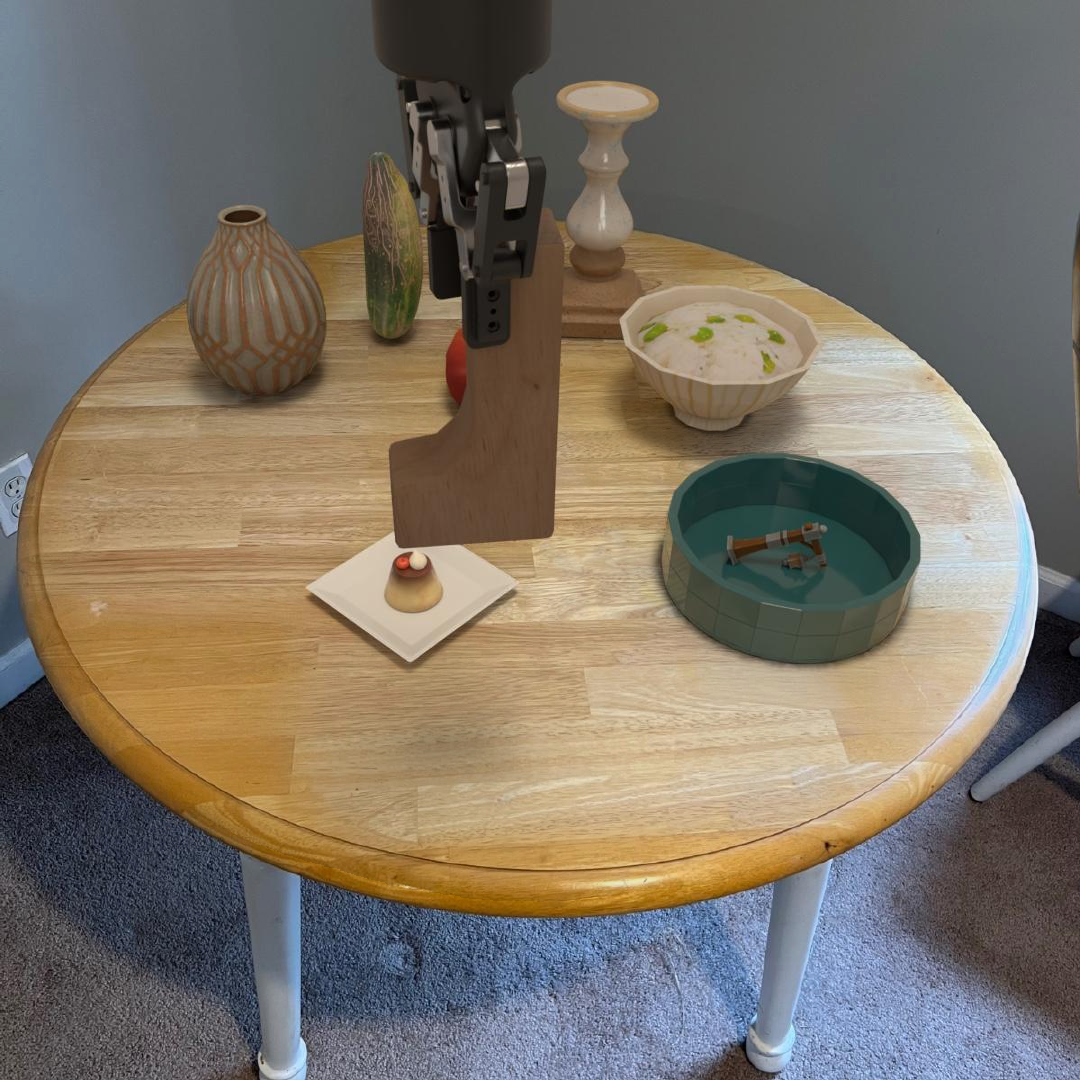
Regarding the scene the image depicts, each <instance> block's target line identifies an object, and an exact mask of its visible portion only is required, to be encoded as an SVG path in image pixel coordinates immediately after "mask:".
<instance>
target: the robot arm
mask: <svg viewBox="0 0 1080 1080" xmlns="http://www.w3.org/2000/svg"><path fill="white" fill-rule="evenodd" d="M370 7H371V9H370V10H371V21H372V36H373V48H374V53H375V56H376V58H377V59H378V62H380V63H381V64H382V66H384V68H386V69H387V70H389V71H391V72H393V73H394V74H396V79H395V88H396V90H397V96H398V105H399V113H400V121H401V129H402V136H403V145H404V153H405V162H406V170H407V179H408V181H407V183H408V189H409V192H410V193H411V196H412V198H413V200H419V201H420V202H419V209H418V214H419V215H418V216H419V218H420V220H421V222H422V224H423V226H425V227H426V241H427V263H428V264H427V265H428V283H429V284H428V285H429V290H430V292H431V293H432V294H433V296H434V297H435V298H436V299H437V300H439V301H444V300H449V299H455V298H460V299H461V328H462V336H463V339H464V340H465V342H466V343H467V345H468V346H469V347H470V348H471V349H481V348H486V347H492V346H497V345H502V344H504V343H506V342H507V341H508V339H509V338H510V279H515V278H527V277H531V276H532V274H533V267H534V260H535V253H536V246H537V239H538V232H539V225H540V218H541V211H542V207H543V204H544V203H543V202H544V196H545V189H546V184H547V183H546V182H547V168H546V164H545V161H544V159H543V157H541V155H537V156H528V157H522V155H521V154H520V152H521V150H522V148H523V139H522V137H523V136H522V129H521V128H522V127H521V119H520V116H519V114H518V112H517V111H516V107H515V106H516V105H515V98H514V94H513V91H514V88H515V86H516V85H517V83H519V81H520V80H522V78H524V77H525V76H528V75H532V74H533V73H536V72H537V71H539V70H540V69H541V68H542V67H544V66H545V64H546V63H547V61H548V60H549V58H550V55H551V53H552V51H551V50H552V27H553V26H552V25H553V24H552V21H553V18H552V17H553V0H370ZM476 197H477V205H475V204H476ZM475 227H476V228H475ZM474 229H475V240H474ZM497 244H499V248H495V246H496V245H497ZM494 248H495V249H494ZM1072 252H1073V253H1072V274H1071V275H1072V276H1071V281H1072V282H1071V324H1070V325H1071V329H1070V330H1071V335H1072V364H1073V387H1074V409H1075V410H1074V411H1075V429H1076V430H1075V431H1076V452H1077V453H1076V455H1077V478H1078V496H1079V498H1080V212H1079V213H1078V218H1077V222H1076V227H1075V235H1074V245H1073V251H1072Z"/></svg>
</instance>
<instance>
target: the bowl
mask: <svg viewBox="0 0 1080 1080" xmlns="http://www.w3.org/2000/svg"><path fill="white" fill-rule="evenodd" d="M619 320H620V324H621V329H622V333H623V338H624V339H623V341H624V347H625V348H626V350H627V353H628V355H629V357H630V360H631V361H632V363H633V365H634V367H635V370H636V372H637V374H639V375H640V376H641V378H642V379H643V380H644V381H645V382H646V383H647V384H648V385H649V386H650V387H651V388H652V389H653V390H654V392H656V394H658V396H660V397H661V398H662V399H664V400H665V401H666V402H667V403H668V404H670V405H671V406H672V407H673V411H674V415H675V417H676V418H677V419H678V420H680V421H681V422H683V423H684V424H685V425H687V426H688V427H691V428H696V429H699V430H703V431H705V432H706V431H707V432H709V431H711V432H712V431H727V430H729V429H732V428H735V427H737V426H739V425H740V424H741V423H742V421H743V420H744V419H745V417H746V415H749V414H752V413H753V412H756V411H759V410H762V409H764V408H765V407H766V406H769V405H770V404H771V403H773V402H775V401H777V400H778V399H780V398H781V397H783V396H785V395H787V394H788V393H790V392H791V391H792V390H793V388H794V387H795V386H796V385H797V384H798V383H799V382H800V380H801V379H802V378H803V377H804V376H805V375H806V374H807V373H808V371H809V370H810V369H811V367H812V365H814V363H815V362H816V359H817V358H818V356H819V354H820V353H821V351H822V349H823V348H824V346H825V342H824V340H823V338H822V336H821V334H820V333H819V330H818V328H817V326H816V324H815V323H814V320H813V318H811V317H810V316H809V315H807V314H805V313H803V312H802V311H800V310H799V309H797V308H795V307H793V306H792V305H790V304H789V303H787V302H786V301H784V300H782V299H780V298H778V297H776V296H775V295H774V296H773V295H769V294H765V293H761V292H757V291H752V290H749V289H744V288H740V287H736V286H732V285H676V286H673V287H670V288H667V289H664V290H663V289H662V290H660V291H656V292H654V293H651V294H647V295H643V297H640V298H639V299H638V300H637V301H636V302H635V303H634V304H633V305H632V306H631V307H630V308H629V309H628V310H627V311H626V313H625V314H624V315H623V316H622V317H621V318H620V319H619Z"/></svg>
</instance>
